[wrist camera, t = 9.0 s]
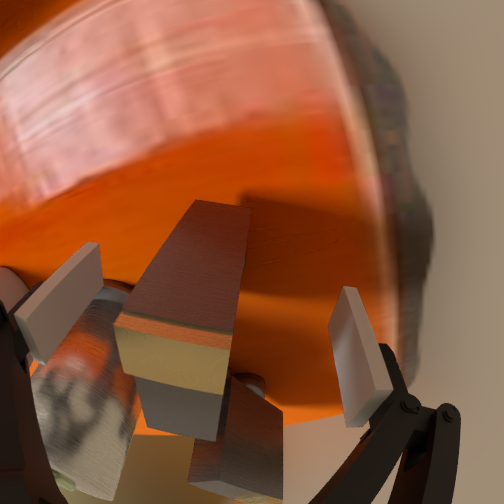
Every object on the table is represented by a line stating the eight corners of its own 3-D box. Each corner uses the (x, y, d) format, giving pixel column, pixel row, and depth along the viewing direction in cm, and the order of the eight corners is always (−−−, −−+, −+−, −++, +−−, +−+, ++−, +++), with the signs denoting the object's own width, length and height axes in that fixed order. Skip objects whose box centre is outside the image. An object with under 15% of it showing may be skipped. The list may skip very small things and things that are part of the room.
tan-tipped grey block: (208, 369, 24) (184, 490, 14) (235, 356, 23) (219, 488, 13) (256, 404, 27) (250, 509, 16) (283, 394, 26) (283, 506, 15)
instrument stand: (38, 263, 20) (-66, 383, 7) (205, 251, 19) (122, 488, 6) (95, 371, 26) (44, 483, 13) (234, 381, 25) (216, 536, 12)
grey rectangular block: (239, 294, 20) (216, 453, 10) (193, 286, 20) (142, 437, 10) (255, 197, 17) (235, 347, 7) (201, 188, 17) (109, 321, 7)
